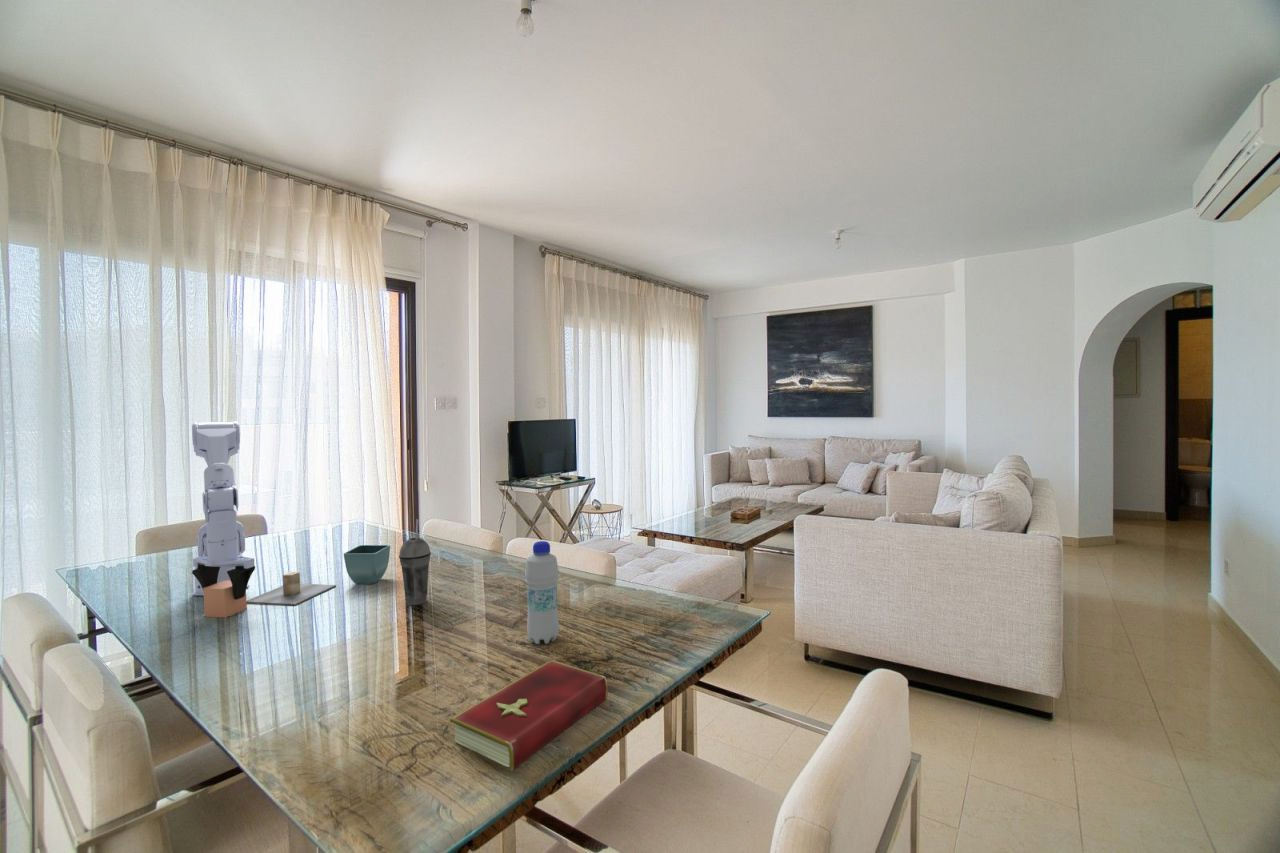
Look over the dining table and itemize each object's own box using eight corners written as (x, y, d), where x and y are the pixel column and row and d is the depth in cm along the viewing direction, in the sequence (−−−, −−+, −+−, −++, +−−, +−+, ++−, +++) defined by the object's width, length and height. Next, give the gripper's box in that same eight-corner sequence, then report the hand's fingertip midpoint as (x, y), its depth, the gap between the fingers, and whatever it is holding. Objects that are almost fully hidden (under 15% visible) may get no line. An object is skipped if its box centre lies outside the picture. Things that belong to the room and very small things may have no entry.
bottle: (565, 635, 115) (563, 538, 114) (550, 648, 109) (547, 546, 108) (537, 631, 117) (534, 536, 116) (519, 644, 111) (517, 544, 110)
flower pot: (376, 586, 148) (375, 553, 147) (343, 587, 148) (342, 553, 148) (392, 576, 156) (391, 544, 156) (360, 576, 157) (359, 544, 156)
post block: (244, 603, 137) (243, 581, 137) (289, 584, 151) (288, 564, 150) (295, 605, 134) (294, 583, 134) (335, 586, 148) (335, 566, 148)
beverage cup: (393, 605, 134) (390, 522, 133) (416, 595, 141) (413, 516, 140) (417, 608, 131) (414, 524, 130) (439, 598, 138) (436, 518, 137)
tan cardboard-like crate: (204, 616, 128) (203, 588, 128) (226, 607, 134) (225, 580, 134) (225, 617, 127) (224, 589, 127) (246, 608, 133) (245, 581, 133)
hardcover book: (608, 701, 90) (607, 675, 90) (512, 775, 72) (511, 743, 72) (552, 682, 97) (551, 658, 96) (451, 746, 79) (450, 716, 79)
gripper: (179, 543, 127) (182, 602, 128) (234, 544, 125) (237, 604, 125) (207, 535, 134) (210, 591, 135) (260, 537, 132) (263, 594, 132)
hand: (225, 597), depth 130 cm, fingers open, 7 cm apart
